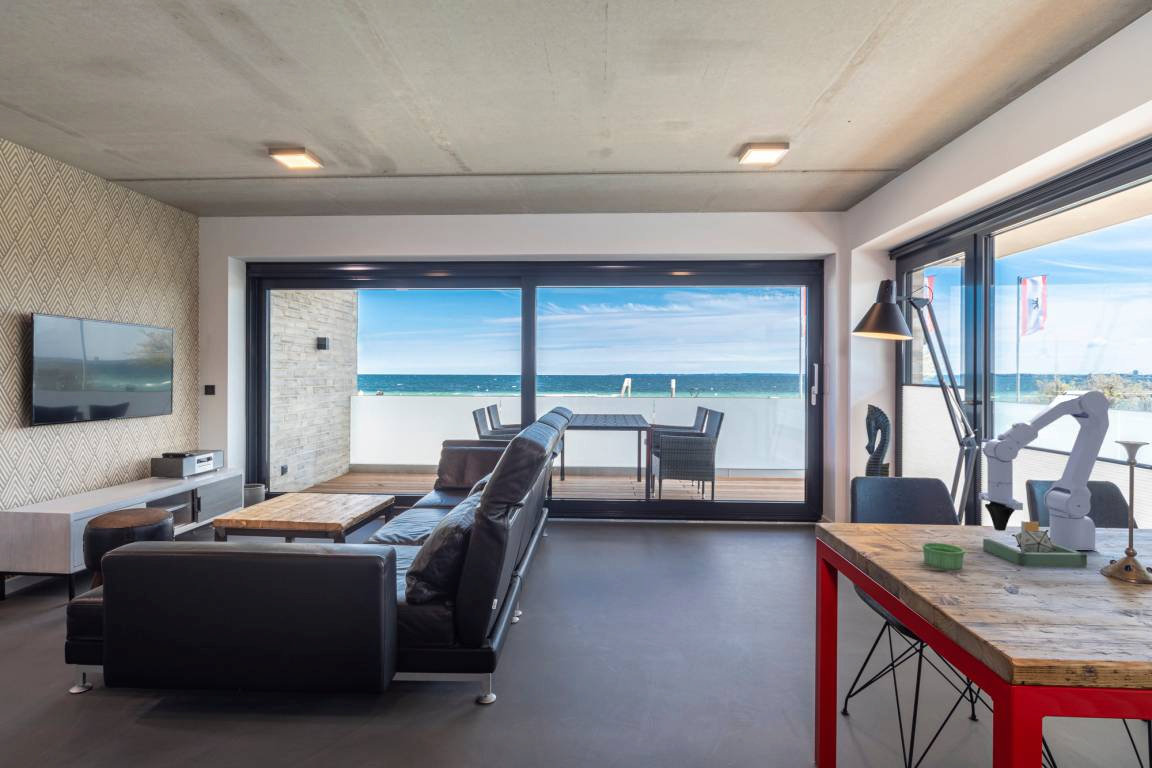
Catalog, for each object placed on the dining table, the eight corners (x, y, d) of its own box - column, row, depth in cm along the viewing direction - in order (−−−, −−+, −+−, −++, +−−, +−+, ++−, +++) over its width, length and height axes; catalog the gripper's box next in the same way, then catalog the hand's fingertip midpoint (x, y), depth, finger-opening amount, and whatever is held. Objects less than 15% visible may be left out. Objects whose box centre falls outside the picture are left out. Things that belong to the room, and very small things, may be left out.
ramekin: (971, 571, 140) (971, 553, 140) (930, 569, 141) (930, 551, 141) (954, 560, 148) (954, 543, 148) (916, 558, 150) (916, 541, 150)
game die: (1043, 572, 150) (1073, 548, 145) (1015, 562, 149) (1045, 536, 144) (1023, 547, 158) (1051, 523, 153) (997, 537, 157) (1024, 512, 152)
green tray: (1042, 550, 157) (1042, 510, 157) (1086, 566, 143) (1087, 522, 143) (983, 549, 158) (983, 509, 158) (1022, 566, 144) (1022, 522, 144)
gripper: (968, 477, 170) (968, 523, 170) (1004, 486, 155) (1004, 536, 155) (992, 477, 170) (992, 523, 170) (1030, 486, 155) (1030, 536, 155)
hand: (999, 530), depth 162 cm, fingers closed
